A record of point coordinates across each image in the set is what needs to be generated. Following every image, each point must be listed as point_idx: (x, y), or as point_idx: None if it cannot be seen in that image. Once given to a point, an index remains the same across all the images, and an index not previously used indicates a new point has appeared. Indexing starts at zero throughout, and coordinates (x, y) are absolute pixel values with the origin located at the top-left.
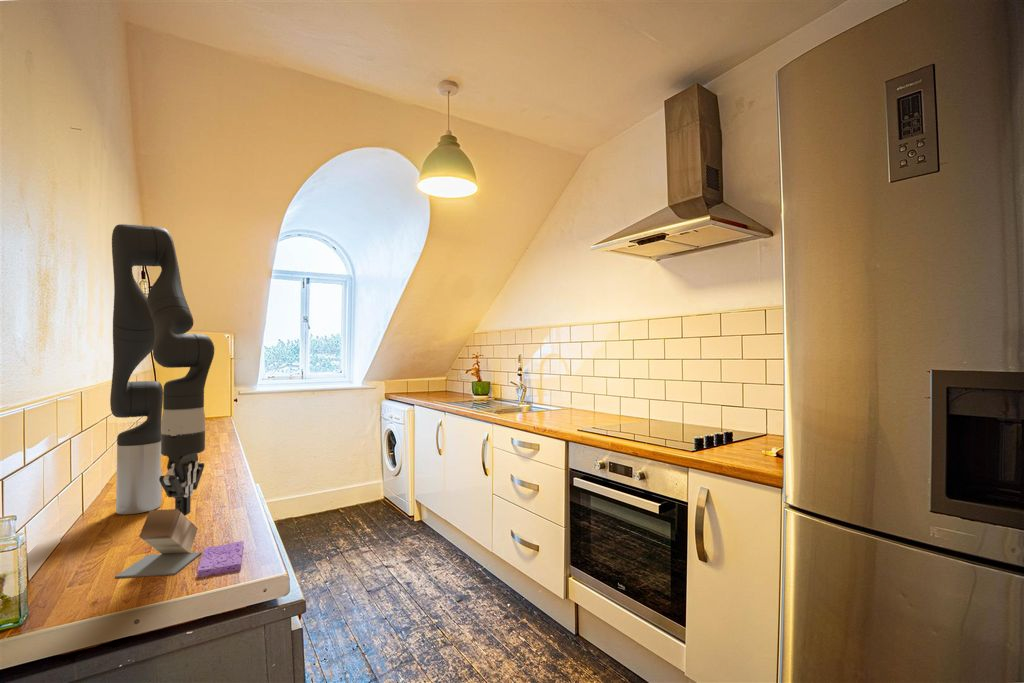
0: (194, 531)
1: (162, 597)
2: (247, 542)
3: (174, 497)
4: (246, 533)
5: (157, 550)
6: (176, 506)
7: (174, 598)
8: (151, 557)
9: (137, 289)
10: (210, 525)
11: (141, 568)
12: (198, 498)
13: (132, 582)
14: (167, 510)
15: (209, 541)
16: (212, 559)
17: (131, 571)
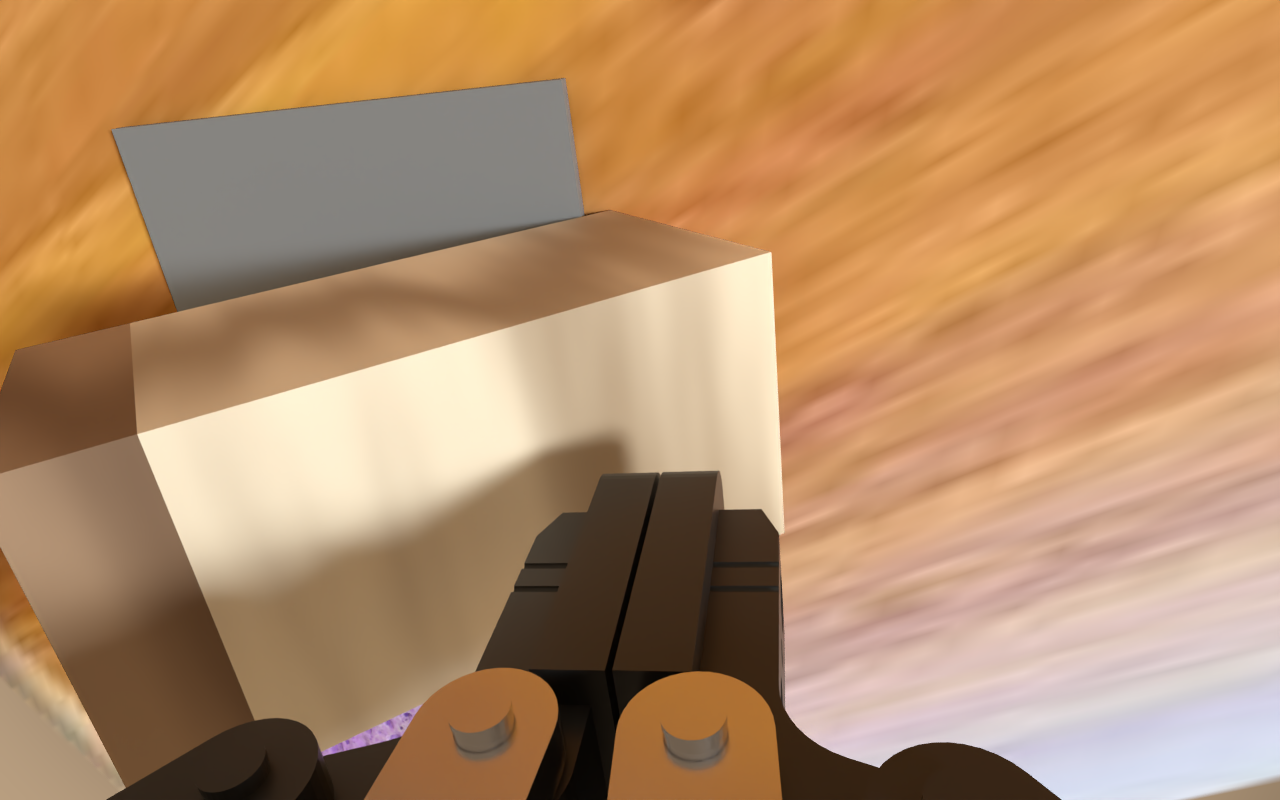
0: None
1: (23, 608)
2: (850, 744)
3: (398, 740)
4: (1098, 679)
5: (493, 239)
6: (514, 609)
7: (35, 665)
8: (497, 172)
9: None
10: None
11: (278, 248)
12: None
13: (107, 323)
14: (92, 716)
15: (932, 460)
16: (407, 711)
17: (212, 205)
